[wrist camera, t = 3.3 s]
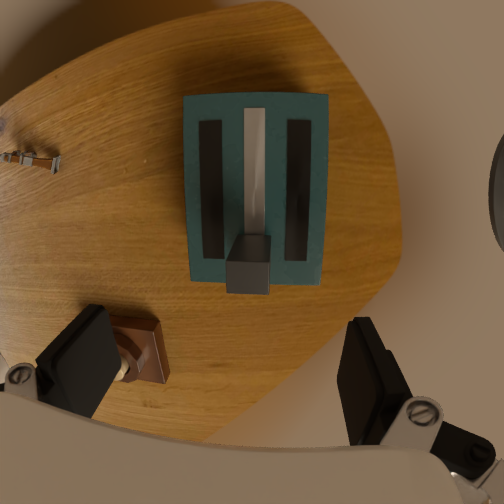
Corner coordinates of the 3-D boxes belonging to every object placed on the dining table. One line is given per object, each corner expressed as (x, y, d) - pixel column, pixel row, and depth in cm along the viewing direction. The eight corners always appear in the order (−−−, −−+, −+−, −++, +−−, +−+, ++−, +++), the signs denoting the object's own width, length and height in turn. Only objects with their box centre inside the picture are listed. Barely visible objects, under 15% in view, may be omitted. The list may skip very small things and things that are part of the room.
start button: (125, 352, 29) (118, 361, 28) (131, 373, 30) (126, 383, 29) (101, 348, 30) (95, 357, 28) (108, 368, 31) (102, 377, 29)
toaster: (319, 104, 23) (331, 91, 17) (313, 259, 28) (322, 288, 22) (200, 104, 24) (179, 93, 18) (205, 257, 29) (188, 284, 23)
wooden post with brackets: (13, 144, 25) (-3, 149, 21) (66, 152, 28) (55, 158, 24) (10, 158, 26) (-5, 166, 22) (64, 167, 29) (52, 175, 25)
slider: (271, 235, 21) (269, 261, 16) (270, 261, 21) (268, 295, 17) (237, 234, 21) (225, 260, 16) (237, 261, 22) (226, 293, 17)
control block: (159, 320, 32) (147, 341, 28) (170, 372, 34) (160, 394, 31) (88, 311, 32) (72, 328, 29) (104, 361, 35) (91, 379, 31)
